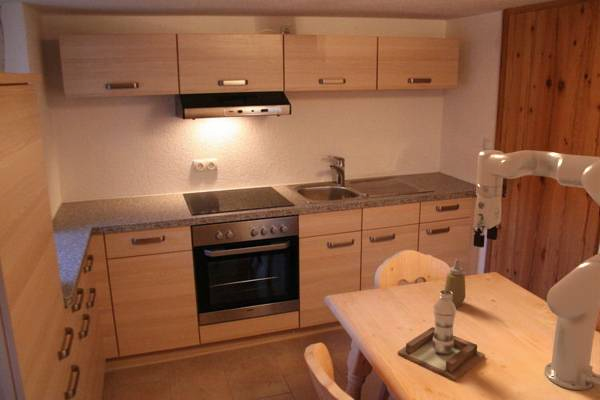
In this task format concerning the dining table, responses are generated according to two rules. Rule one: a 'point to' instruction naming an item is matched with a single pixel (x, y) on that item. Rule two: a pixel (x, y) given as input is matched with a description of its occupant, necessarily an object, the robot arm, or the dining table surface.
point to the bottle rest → (442, 355)
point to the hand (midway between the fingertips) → (485, 242)
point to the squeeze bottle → (456, 284)
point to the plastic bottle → (444, 323)
